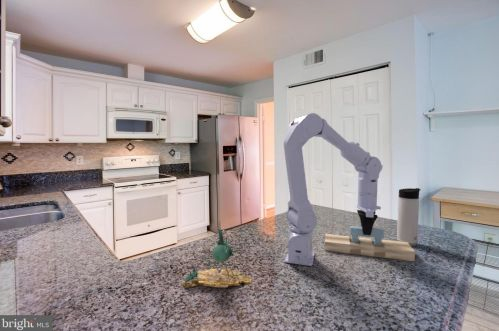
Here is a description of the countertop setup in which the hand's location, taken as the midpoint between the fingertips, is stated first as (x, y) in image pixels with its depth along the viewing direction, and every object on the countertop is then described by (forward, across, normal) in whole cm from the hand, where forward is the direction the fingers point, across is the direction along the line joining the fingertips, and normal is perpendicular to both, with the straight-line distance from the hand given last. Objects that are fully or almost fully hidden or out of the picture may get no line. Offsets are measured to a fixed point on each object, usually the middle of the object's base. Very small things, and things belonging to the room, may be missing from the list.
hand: (366, 233), depth 83 cm
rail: (+6, 0, 0) cm, 6 cm away
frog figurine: (+6, -33, +38) cm, 51 cm away
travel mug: (+6, +12, -15) cm, 20 cm away
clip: (+5, 0, 0) cm, 5 cm away
